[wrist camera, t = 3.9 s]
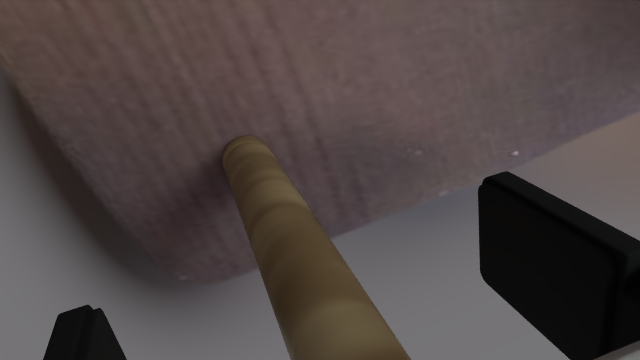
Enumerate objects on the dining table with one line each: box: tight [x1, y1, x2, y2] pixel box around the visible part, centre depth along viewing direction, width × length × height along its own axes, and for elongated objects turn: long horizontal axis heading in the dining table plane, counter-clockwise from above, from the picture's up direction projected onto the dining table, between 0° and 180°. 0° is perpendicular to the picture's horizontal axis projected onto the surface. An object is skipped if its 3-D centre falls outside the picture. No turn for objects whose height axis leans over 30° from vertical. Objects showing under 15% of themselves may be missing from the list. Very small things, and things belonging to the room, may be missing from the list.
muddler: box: [222, 136, 411, 360], centre depth 13 cm, size 2×2×13 cm
